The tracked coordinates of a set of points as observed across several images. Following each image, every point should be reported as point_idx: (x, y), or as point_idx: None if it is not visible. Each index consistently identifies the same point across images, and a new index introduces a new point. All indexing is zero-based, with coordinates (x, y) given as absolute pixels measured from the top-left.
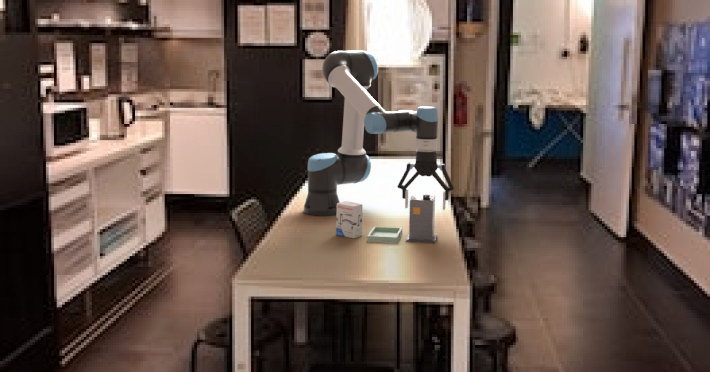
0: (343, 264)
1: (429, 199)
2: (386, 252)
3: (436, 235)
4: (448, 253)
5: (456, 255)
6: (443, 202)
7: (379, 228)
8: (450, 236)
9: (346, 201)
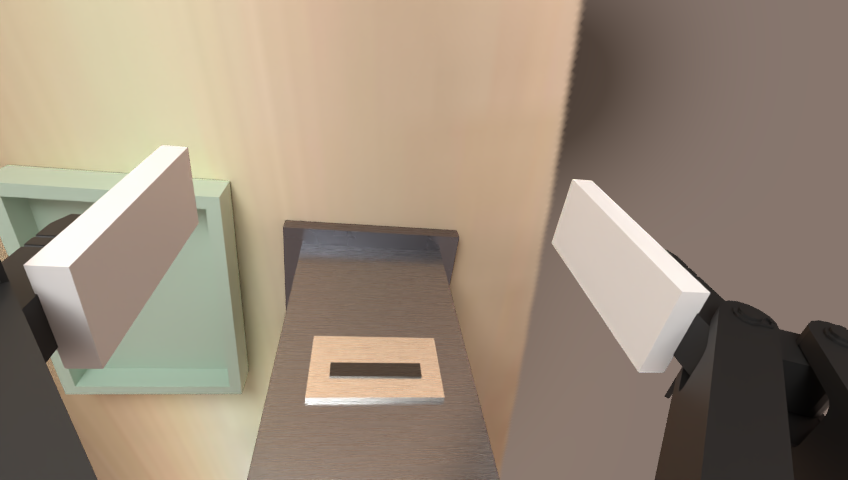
0: None
1: None
2: (236, 475)
3: (452, 264)
4: None
5: (500, 461)
6: (585, 285)
7: (42, 192)
8: (533, 221)
9: None
